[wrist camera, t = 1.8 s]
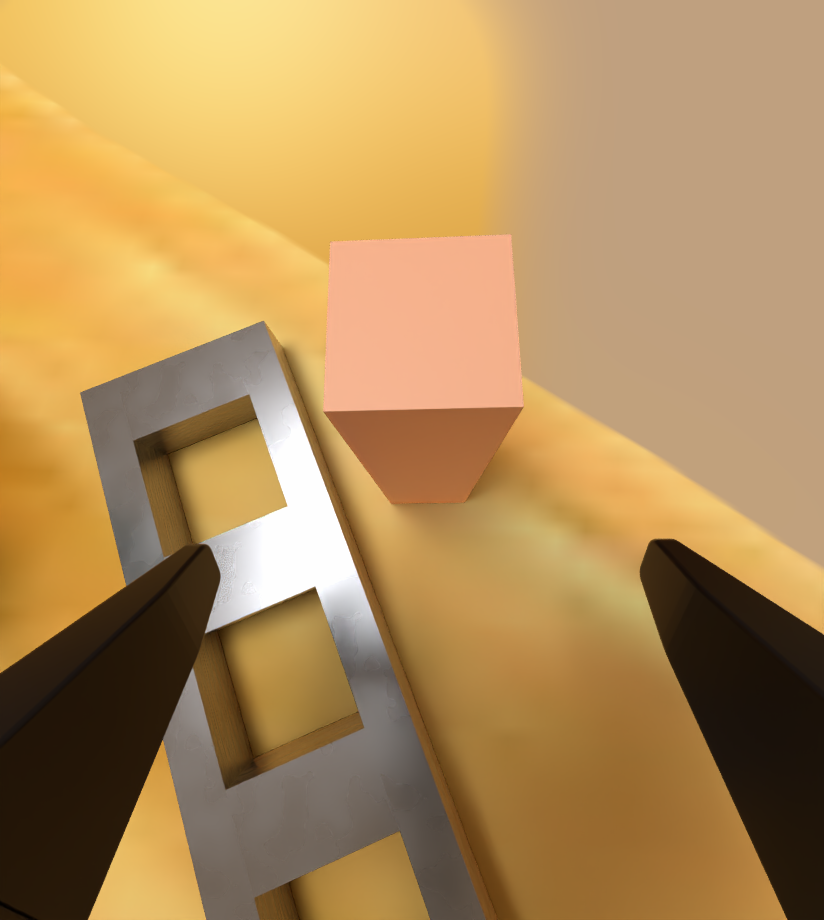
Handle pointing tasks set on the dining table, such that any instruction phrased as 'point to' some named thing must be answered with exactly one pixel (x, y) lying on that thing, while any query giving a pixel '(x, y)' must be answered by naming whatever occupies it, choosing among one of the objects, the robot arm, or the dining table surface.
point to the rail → (250, 592)
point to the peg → (423, 360)
